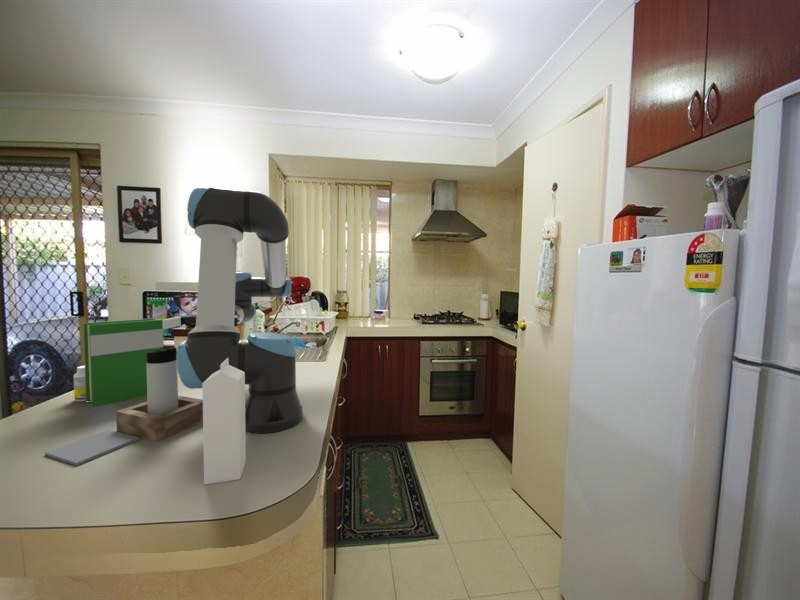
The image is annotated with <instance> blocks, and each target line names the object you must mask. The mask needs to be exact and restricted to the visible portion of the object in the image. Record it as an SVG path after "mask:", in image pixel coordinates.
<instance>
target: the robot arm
mask: <svg viewBox="0 0 800 600" xmlns="http://www.w3.org/2000/svg"><path fill="white" fill-rule="evenodd" d="M186 211H187V221H188V222H187V223H188V225H189V226H190V228H191V229H193V230H194V233H195V235H196V236H197V237H198V238H199V239H200V248H199V249H200V250H199V265H198V266H199V268H198V270H199V271H198V282H197V283H198V284H197V300H196V314H187V315H185V314H184V315H175V316H174V315H173V316H170V318H164V319H161V320H162V322H163V330H167V329H171V328H176V329H177V328H179V327H181V326H182V325H184V326H185V325H195V326H194V328H192V329H191V330H190V331H188V333H187V340H183V341H181V342H179V343H178V345H177V355H176V359H177V374H178V377H179V379H180V382H181V384H182V385H184V387H186V388H188V389H192V390H194V389H202V383H203V382H204V381H205V380H206V379H207V378H208V377H209V376H211V375H212V374H213V373H215V372H216V371H218V370H220V365H221V363H223V362H224V361H225V360H226V359H227V358H229V365H230V366H233V367H235V368H237V369H239V370H241V371H243V372H245V386H246V385H247V386H248V396H247V399H246V401H245V432H246V431H247V432H250V433H255V434H256V433H257V434H268V433H269V434H271V433H277V432H280V431H284V430H288V429H290V428H292V427H294V426H296V425H298V424H299V423H300V422H301V421H302V420H303V415H304V414H303V409H304V408H303V406H302V405H301V402H300V398H299V395H298V391H297V381H296V380H297V377H296V376H297V374H296V373H297V372H296V371H297V370H296V367H297V365H296V356H297V351H296V340H295V339H294V338H293V337H292V336H289V335H287V334H283V333H279V332H276V333H275V332H267V331H266V332H263V331H262V332H251V333H249V334H248V335H247V338H241V332H240V331H239V330H238V329H237V328H236V327H237V326H238V325H239V324H243V323H248V322H250V321H252V320H253V319H254V318H255V317H256V315H257V309H256V307H255V305H254V304H253V303H252V302H253V298H288V297H291V296H292V279H291V277H290V278H289V277H287V256H286V255H287V254H286V251H287V250H286V249H287V248H286V241H287V239H288V238H289V234H290V231H289V230H290V229H289V228H290V227H289V222H288V219H287V217H286V215H285V213H284V212H283V210H282V209H281V206H280V205H278V204H277V203H276V202H275V200H273V199H272V198H271V197H269V196H267V195H266V194H264V193H262V192H259V191H256V190H245V189H244V190H242V189H233V188H223V187H222V188H221V187H217V186H197V187H195V188H194V189H193V190H192V191H191V193H190V195H189V197H188V201H187V208H186ZM244 233H255V234H256V237H257V238H258V239H259V240H260V248H261V257H262V265H263V274H264V277H257V276H255V277H254V276H252V273H251V272H242V271H237V256H238V255H237V254H238V253H237V251H238V243H239V242H241V241H242V240H244Z"/></svg>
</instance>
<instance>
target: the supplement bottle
mask: <svg viewBox="0 0 800 600" xmlns="http://www.w3.org/2000/svg"><path fill="white" fill-rule="evenodd" d="M73 390H75V391H73V392H74V396H73V397H74V400H75V401H76V400H77V401H76V402H86V385H85V364H84V365H80V366H77V367H76V373H75V374H73Z"/></svg>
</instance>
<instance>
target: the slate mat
mask: <svg viewBox="0 0 800 600" xmlns="http://www.w3.org/2000/svg"><path fill="white" fill-rule="evenodd" d="M138 441H139V437H137V436H133V435H129V434H125V433H121V432H117V431H114V430H110V429H106V430H103V431H101V432H98V433H95V434H93V435H90V436H87V437H84V438H81V439H78V440H74V441H73V442H70V443H67V444H65V445H61V446H59V447H56V448H53V449H51V450H48V451H45V452H44V456H46V455H47V456H46V457H49V458H53V459H56V460H58V459H59V461H61V460H62V461H61V462H64V463H67V462H68V464H71V465H73V466H80V465H82V464H85V463H88V462H89V461H91V460H94V459H96V458H99V457H102V456H103V455H105V454H108V453H111V452H113V451H115V450H118V449H120V448H122V447H126V446H127V445H131V444H132V443H135V442H138Z"/></svg>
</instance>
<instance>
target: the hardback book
mask: <svg viewBox="0 0 800 600" xmlns="http://www.w3.org/2000/svg"><path fill="white" fill-rule="evenodd" d="M162 320H163V319H160V318H156V317H155V318H152V317H151V318H140V319H139V318H138V319H124V320H107V321H93V322H83V323H82V325H83V326H82V328H83V329H82V330H83V332H82V333H83V355H84V365H85V385H86V401H91V408H96V407H95V406H97V407H101V406H106V405H110V404H114V403H118V402H121V401H122V402H123V401H127V400H130V399H136V398H140V397H143V396H144V397H146V396H147V367H146V365H147V364H146V362H147V357H146V353H147V352H154V351H156V350H160V349H165V347H164V329H163V322H162ZM86 401H85V402H86Z"/></svg>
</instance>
